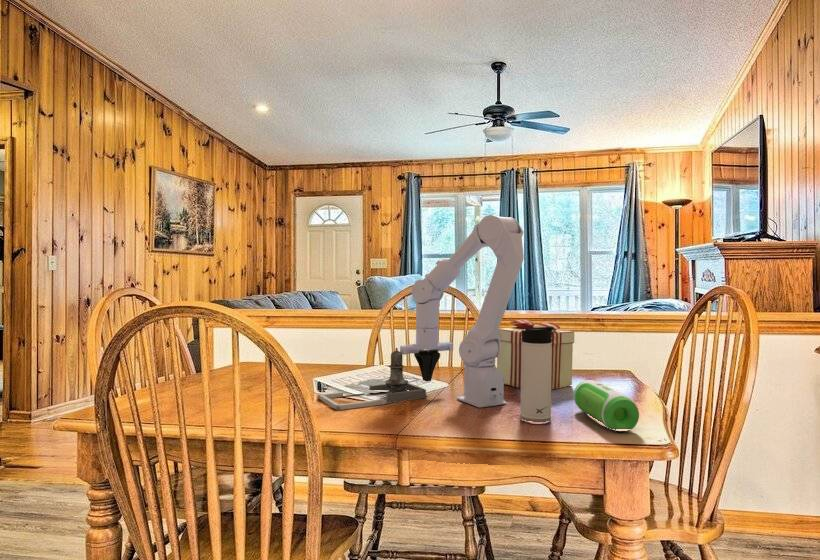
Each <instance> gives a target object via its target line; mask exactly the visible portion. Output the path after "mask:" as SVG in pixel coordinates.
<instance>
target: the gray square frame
mask: <svg viewBox="0 0 820 560" xmlns="http://www.w3.org/2000/svg"><path fill="white" fill-rule="evenodd" d="M342 392H343V391H339V392H337V391H336V392H329V393H322V394H321V393H319V394H318V400H320V401H321V402H323V403H325V404H326V405H327V406H329V407H331V408H333V409H334V410H335V411H342V410H351V409H358V408H364V407H373V406H374V407H375V406H381V405H385V404H386V398H381V399H373V400H367V401H357V402H350V403H341V404H339V403H337V402H335V401H334V400H332V399H334V398H344V397H343V393H342Z"/></svg>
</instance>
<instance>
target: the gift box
mask: <svg viewBox="0 0 820 560" xmlns="http://www.w3.org/2000/svg"><path fill="white" fill-rule="evenodd" d="M510 324H512V325H513V326H514V327H503V328H499V331H500V332H501V334H502V336H501V339H500V353H499V355H498V356H497V357H496V368H497V369H498V370H500V371H501V372H502V374H503V377H504V386H505V385H506V386H508V387H509V386H510V387H513V388H517V389H521V345H522V343H521V341H522V330H525V329H528V328H538V327H550V326H553V327H554V330H552V338H551V339H552V345H551V346H552V372H551V390H557V389H562V387H563V388H568V387H567V386H569V387H571V386H570V385H573V351H574V350H573V348H574V346H573V345H574V344H575V331H573V330H568V329H560V328H561V326H560V325H558V324H556V323H553V322H545V323H544V322H541V323H539V324H535V323H534V322H533V321H530V320H527V319H517V320H512V321H510Z"/></svg>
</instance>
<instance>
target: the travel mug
mask: <svg viewBox="0 0 820 560" xmlns="http://www.w3.org/2000/svg"><path fill="white" fill-rule="evenodd" d="M552 330H554V327H553V326H550V327H538V328H528V329H525V330H522V341H521V343H522V345H521V388H520V406H519V407H520V408H519V409H520V411H519V412H520V414H519V415H520V417H519V418H521V419H523V420H526V421H533V422H546V421H550V420H551V419H552V415H551V414H552V389H551V372H552V346H551V345H552V339H551V338H552ZM521 419H520V420H521ZM551 421H552V420H551ZM551 421H550V422H551Z"/></svg>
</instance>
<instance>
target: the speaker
mask: <svg viewBox="0 0 820 560" xmlns="http://www.w3.org/2000/svg"><path fill="white" fill-rule="evenodd" d="M573 400H574V402H575V405H576V406H577V408H579V410H580V411H581V412H583V413H584V412H585V413H584V414H586V413H587V414H589V415H590V416H592V417H593V418H595V419H597V420H598V421H600V422H602V423H603V424H604V425H605V426H606V427H608V428H611V429H615V430H616V429H631V430H633V429H634V428H635V427H636V426H637V424H638V422H639V419H640V412H639V408H638V406H637V405H636V403H635V402H634V401H633V399H631V398H630V397H628V396H627V395H625V394H624V393H621V392H619V391H617V389H616V390H615V389H614V388H612V387H610V386H608V385H605V384H603V383H601V382H599V381H597V380H593V379H592V380H591V379H590V380H589V379H587V380H584V381H581V382H579V383H578V384H577V385H576V387H575V388H574V390H573ZM587 414H586V415H587ZM608 428H607V429H608Z"/></svg>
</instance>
